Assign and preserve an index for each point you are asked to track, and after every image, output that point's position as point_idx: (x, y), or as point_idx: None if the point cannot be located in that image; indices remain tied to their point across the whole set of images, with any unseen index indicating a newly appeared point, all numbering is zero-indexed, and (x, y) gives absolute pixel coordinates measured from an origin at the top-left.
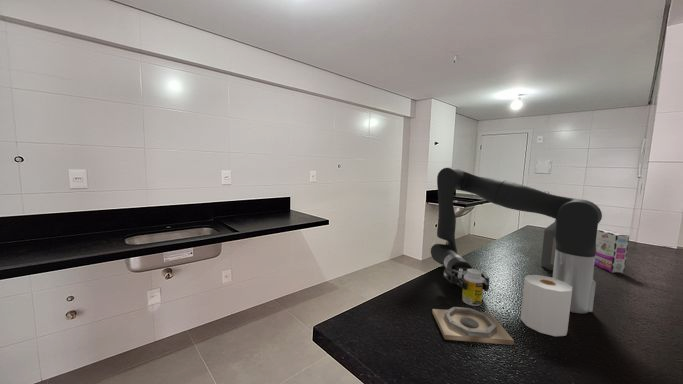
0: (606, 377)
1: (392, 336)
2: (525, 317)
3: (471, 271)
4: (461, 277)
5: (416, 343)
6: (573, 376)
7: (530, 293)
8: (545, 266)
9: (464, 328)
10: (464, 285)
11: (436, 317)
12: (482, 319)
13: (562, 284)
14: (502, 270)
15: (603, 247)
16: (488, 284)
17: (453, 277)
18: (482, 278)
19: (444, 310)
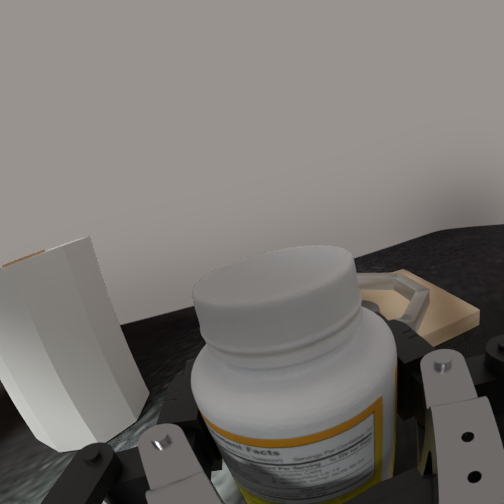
0: (138, 320)
1: (484, 249)
2: (136, 379)
3: (306, 253)
4: (421, 365)
5: (444, 257)
6: (189, 308)
7: (101, 277)
8: None
9: (362, 273)
10: None
11: (447, 293)
12: None
13: (1, 267)
14: None
15: None
16: (172, 384)
17: (492, 345)
18: (200, 351)
19: (442, 322)
